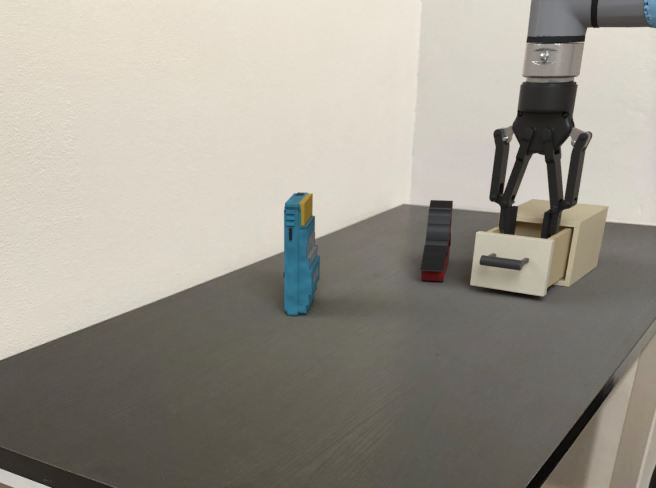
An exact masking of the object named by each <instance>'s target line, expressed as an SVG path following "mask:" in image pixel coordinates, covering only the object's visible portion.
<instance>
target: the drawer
mask: <svg viewBox="0 0 656 488" xmlns="http://www.w3.org/2000/svg"><path fill="white" fill-rule="evenodd" d="M541 231H542V224H540V223H530V222H521V221H516V226H515V234H514V235H509V234H503V233H504V230H503V229H499V226H498V225H497V226H495V227H493V228H491V229H489V230H487V231H484V230H483V231H482V230H478V231H477V232H475V240H474V248H473V256H472V266H471V274H470V282H469V283H470V284H469V286H474V287H479V288H487V289H493V290H498V291H499V290H500V291H505V292H511V293H518V294H523V295H524V294H525V295H531V296H538V297H545V296H546V295H547V291H548V288H549V287H551V286H553V285H552V284H554V283H555V282H557V281H558V280H560V279H561V278H562V277H564V276H565V275H566V271H567V266H568V260H569V254H570V249H571V243H572V237H573V232H574V227H567V226H560V227H559V231H558V233H557V234H555V235H552V236H551V237H550V238H548V239H542V238H540V237H541Z"/></svg>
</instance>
